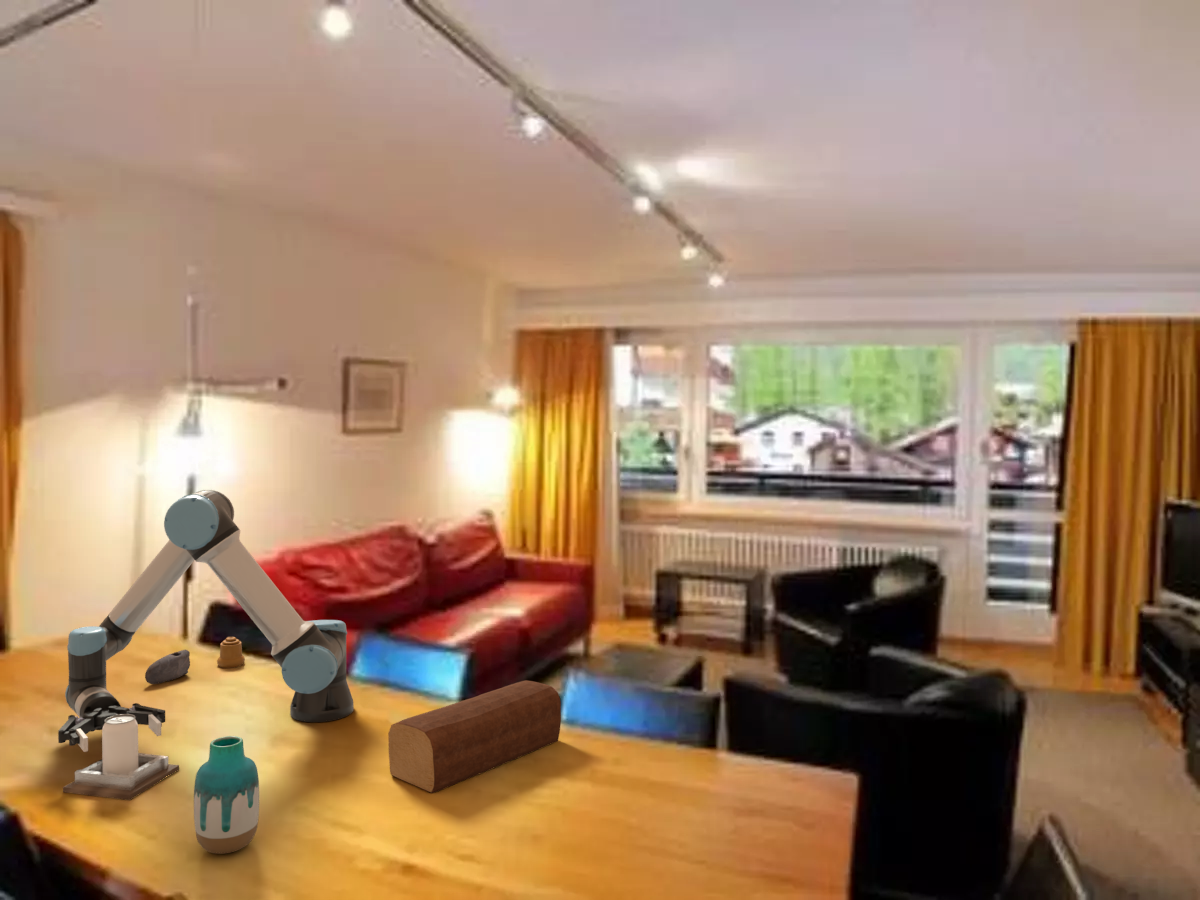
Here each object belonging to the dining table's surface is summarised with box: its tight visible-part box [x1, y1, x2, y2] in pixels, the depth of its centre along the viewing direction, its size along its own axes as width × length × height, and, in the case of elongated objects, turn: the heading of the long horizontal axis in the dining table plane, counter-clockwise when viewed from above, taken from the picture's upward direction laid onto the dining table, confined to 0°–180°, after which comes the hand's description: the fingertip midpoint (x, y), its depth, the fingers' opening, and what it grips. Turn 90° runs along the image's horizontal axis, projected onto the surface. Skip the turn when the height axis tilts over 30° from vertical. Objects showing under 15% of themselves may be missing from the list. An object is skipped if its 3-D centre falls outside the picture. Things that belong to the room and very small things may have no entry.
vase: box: [193, 735, 260, 855], centre depth 161 cm, size 11×11×19 cm
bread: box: [387, 680, 562, 794], centre depth 204 cm, size 16×39×13 cm, turn 141°
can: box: [101, 714, 139, 775], centre depth 188 cm, size 6×6×12 cm
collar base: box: [62, 763, 180, 801], centre depth 189 cm, size 15×15×1 cm
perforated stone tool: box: [144, 649, 191, 685], centre depth 254 cm, size 15×5×7 cm, turn 157°
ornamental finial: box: [216, 636, 246, 669], centre depth 269 cm, size 8×8×8 cm
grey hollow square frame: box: [74, 752, 169, 791], centre depth 189 cm, size 13×11×2 cm
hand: (123, 737), depth 187 cm, fingers open, 13 cm apart
